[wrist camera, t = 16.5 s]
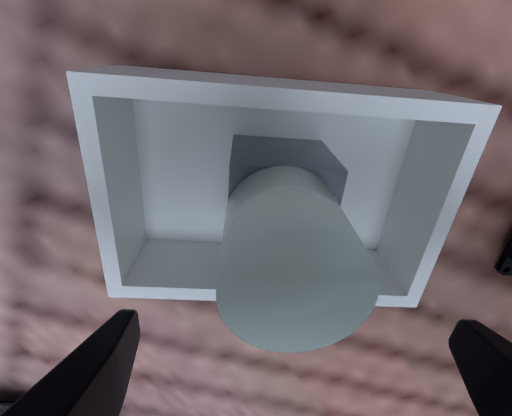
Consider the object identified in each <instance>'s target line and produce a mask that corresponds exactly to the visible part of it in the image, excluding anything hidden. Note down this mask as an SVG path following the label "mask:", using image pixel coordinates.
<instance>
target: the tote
mask: <svg viewBox="0 0 512 416" xmlns="http://www.w3.org/2000/svg"><path fill="white" fill-rule="evenodd" d="M66 74H67V80H68V85H69V90H70V96H71V101H72V106H73V112H74V117H75V122H76V128H77V133H78V138H79V144H80V149H81V154H82V159H83V165H84V170H85V175H86V181H87V186H88V191H89V197H90V202H91V207H92V213H93V218H94V223H95V229H96V234H97V239H98V244H99V250H100V255H101V260H102V266H103V271H104V276H105V282H106V287H107V292H108V297H119V298H149V299H179V300H209V301H216V289H217V280H218V272H219V263H220V255H221V246H222V238H223V229H224V221H225V212H226V207H227V203H228V188H229V164H230V156H231V149H232V141H233V134H234V135H249V136H263V137H278V138H292V139H306V140H321V141H323V143H324V144H325V145H326V146H327V147H328V148H329V150H330V151H331V152H332V153H333V154H334V155H335V157H336V158H337V159H338V160H339V161H340V162H341V163H342V165H343V166H344V167H345V168H346V169H347V170H348V175H347V180H346V184H345V188H344V193H343V197H342V202H341V206H340V207H341V209H342V210H343V212H344V214H345V215H346V217H347V219H348V220H349V222H350V223H351V225H352V227H353V228H354V230H355V232H356V233H357V235H358V236H359V238H360V240H361V241H362V243H363V245H364V246H365V248H366V250H367V251H368V253H369V254H370V256H371V258H372V259H373V261H374V263H375V265H376V267H377V270H378V274H379V281H380V288H379V295H378V299H377V302H376V304H375V306H389V307H417V305H418V303H419V300H420V298H421V296H422V293H423V291H424V289H425V286H426V284H427V282H428V279H429V277H430V275H431V272H432V270H433V268H434V265H435V263H436V261H437V258H438V256H439V253H440V251H441V249H442V246H443V244H444V242H445V239H446V237H447V235H448V232H449V230H450V228H451V225H452V223H453V221H454V218H455V216H456V214H457V211H458V209H459V207H460V204H461V202H462V199H463V197H464V195H465V192H466V190H467V188H468V185H469V183H470V181H471V178H472V176H473V174H474V171H475V169H476V167H477V164H478V162H479V160H480V157H481V155H482V153H483V150H484V148H485V145H486V143H487V141H488V138H489V136H490V134H491V131H492V129H493V127H494V124H495V122H496V120H497V117H498V115H499V113H500V110H501V108H502V106H501V105H497V104H492V103H487V102H482V101H478V100H473V99H468V98H464V97H459V96H454V95H449V94H445V93H440V92H435V91H430V90H420V89H408V88H396V87H383V86H371V85H359V84H347V83H334V82H322V81H310V80H298V79H285V78H273V77H261V76H249V75H236V74H224V73H212V72H200V71H187V70H175V69H163V68H150V67H138V66H126V65H116V66H107V67H98V68H89V69H80V70H71V71H66Z"/></svg>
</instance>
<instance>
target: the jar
mask: <svg viewBox="0 0 512 416" xmlns="http://www.w3.org/2000/svg"><path fill="white" fill-rule="evenodd" d="M379 288H380V281H379V274H378V270H377V267H376V265H375V263H374V261H373V259H372V258H371V256H370V254H369V253H368V251H367V250H366V248H365V246H364V245H363V243H362V241H361V240H360V238H359V236H358V235H357V233H356V232H355V230H354V228H353V227H352V225H351V223H350V222H349V220H348V219H347V217H346V215H345V214H344V212H343V210H342V209H341V207H340V206H339V204H338V202H337V201H336V199H335V197H334V196H333V194H332V193H331V191H330V189H329V188H328V187H327V185H326V184H325V183H324V182H323V181H322V180H321V179H320V178H319V177H317V176H316V175H315V174H313V173H311V172H309V171H307V170H304V169H302V168H298V167H293V166H274V167H269V168H265V169H262V170H260V171H257V172H255V173H253V174H252V175H250V176H248V177H247V178H246V179H244V180H243V181H242V182H241V183H240V184H239V185H238V186H237V187H236V188H235V190H234V191H233V193H232V194H231V196H230V198H229V201H228V203H227V207H226V212H225V221H224V229H223V238H222V246H221V255H220V263H219V272H218V280H217V289H216V304H217V308H218V312H219V314H220V316H221V318H222V320H223V322H224V323H225V325H226V326H227V327H228V328H229V329H230V331H231V332H233V333H234V334H235V335H236V336H237V337H239V338H240V339H242V340H243V341H245V342H247V343H249V344H251V345H253V346H256V347H258V348H261V349H265V350H269V351H275V352H284V353H297V352H307V351H312V350H316V349H320V348H323V347H326V346H329V345H331V344H334V343H336V342H338V341H340V340H342V339H344V338H345V337H347V336H348V335H350V334H351V333H353V332H354V331H355V330H356V329H358V328H359V327H360V326H361V325H362V324H363V323H364V322H365V320H366V319H367V318H368V317H369V315H370V314H371V312H372V310H373V309H374V306H375V304H376V302H377V299H378V295H379Z"/></svg>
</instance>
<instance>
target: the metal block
mask: <svg viewBox="0 0 512 416" xmlns="http://www.w3.org/2000/svg"><path fill="white" fill-rule="evenodd" d="M274 166H293V167H298V168H302V169H304V170H307V171H309V172H311V173H313V174H315V175H316V176H317V177H319V178H320V179H321V180H322V181H323V182H324V183H325V184H326V185H327V187H328V188H329V189H330V191H331V193H332V194H333V196H334V197H335V199H336V201H337V202H338V204H339V206H341V202H342V197H343V193H344V188H345V184H346V180H347V175H348V170H347V169H346V168H345V167H344V166H343V165H342V163H341V162H340V161H339V160H338V159H337V158H336V157H335V155H334V154H333V153H332V152H331V151H330V150H329V148H328V147H327V146H326V145H325V144H324V143H323V141H321V140H306V139H292V138H278V137H263V136H249V135H234V134H233V141H232V149H231V156H230V164H229V188H228V201H229V198H230V196H231V194H232V193H233V191H234V190H235V188H236V187H237V186H238V185H239V184H240V183H241V182H242V181H243V180H244V179H246V178H247V177H248V176H250V175H252V174H253V173H255V172H257V171H260V170H262V169H265V168H269V167H274Z"/></svg>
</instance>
